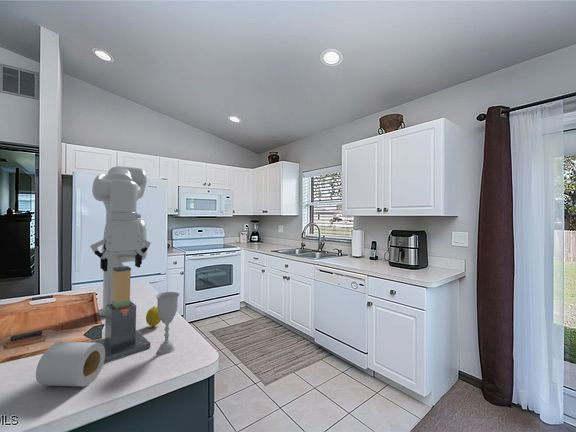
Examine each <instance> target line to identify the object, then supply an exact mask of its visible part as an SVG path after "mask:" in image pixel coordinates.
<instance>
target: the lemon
mask: <svg viewBox="0 0 576 432" xmlns="http://www.w3.org/2000/svg"><path fill="white" fill-rule="evenodd" d="M145 321H146V323H147V325H149V326H151V327H153V328H154V327H156V326H157V325H159V323H161V322H162V321H161V319H160V317H159V314H158V311H157V307H156V306H155V305H154V306H153V307H151V308H150V309H148V311H147V312H146V317H145Z"/></svg>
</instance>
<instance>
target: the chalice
mask: <svg viewBox="0 0 576 432" xmlns="http://www.w3.org/2000/svg"><path fill="white" fill-rule="evenodd" d="M179 296H180V293H179V292H177V291H176V292H174V291H165V292H160V293H158V294H156V295H155V297H156V299H157V304H156V305H157V311H158V314H159V317H160V319H161V321H160V322H162V323H163V324H164V325H165V327H164V331H165V333H164V334H163V336H164V338H165V339H164V341H162V343H160V345H159V347H158V348H159V349H158V350H157V352H158V353H159V354H169V353H172V352H173V351H175V348H176V347H175V345H174V343H173V341H171V340H170V339H169V336H171V334H170V333H169V331H170V330H171V329H170V327H169V324H171V323H172V322H173V320H174V319H175V316H176V314H177V311H178V303H179V302H178V299H179Z"/></svg>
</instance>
